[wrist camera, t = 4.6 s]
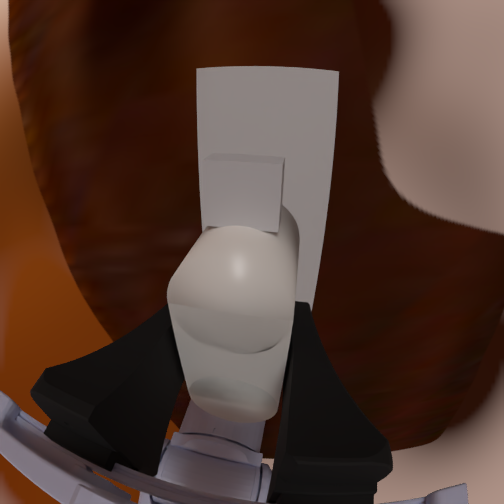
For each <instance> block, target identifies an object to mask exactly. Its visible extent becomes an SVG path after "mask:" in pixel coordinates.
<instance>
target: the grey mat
mask: <svg viewBox="0 0 504 504" xmlns="http://www.w3.org/2000/svg"><path fill="white" fill-rule="evenodd" d="M338 79H339V72H338V71H330V70H320V69H309V68H295V67H272V66H236V67H213V68H199V69H197V130H198V159H199V181H200V200H201V216H202V231H204V230H205V228H206V227H207V226H205V220H204V200H203V174H202V160H203V159H205V158H206V157H208V156H209V155H211V154H212V153H224V154H248V155H265V156H279V157H285V169H284V185H283V200H282V205H283V206H284V207H285V208H286V209H287V210H288V211H289V212H290V213H291V214H292V215H293V217H294V219H295V220H296V223H297V225H298V229H299V234H300V244H299V259H298V272H297V285H296V296H295V301H299V302H308V303H309V304H310V308H311V311H312V306H313V300H314V294H315V289H316V283H317V277H318V271H319V265H320V258H321V252H322V245H323V238H324V231H325V224H326V216H327V209H328V201H329V192H330V183H331V174H332V164H333V154H334V142H335V130H336V116H337V99H338Z"/></svg>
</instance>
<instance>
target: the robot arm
mask: <svg viewBox="0 0 504 504" xmlns="http://www.w3.org/2000/svg"><path fill="white" fill-rule="evenodd" d="M184 379H185V376H184V372H183V368H182V364H181V360H180V356H179V352H178V348H177V344H176V339H175V335H174V330H173V326H172V321H171V316H170V311H169V306H168V304H167V305H165V306H164V307H163V308H162V309H161V310H159V311H158V312H157V313H156V314H154V315H153V316H152V317H151V318H149V319H148V320H147V321H145V322H144V323H142V324H141V325H140V326H138V327H137V328H136V329H134V330H133V331H131V332H130V333H128V334H127V335H125V336H123V337H122V338H120V339H118V340H117V341H115V342H113V343H111V344H109V345H107V346H105V347H103V348H101V349H99V350H97V351H95V352H93V353H91V354H88V355H86V356H84V357H81V358H78V359H76V360H73V361H70V362H67V363H64V364H60V365H56V366H53V367H49V368H46V369H45V370H44V372H43V373H42V375H41V376H40V378H39V379H38V380H37V382H36V383H35V385H34V386H33V388H32V389H31V391H30V393H31V397H32V398H33V400H34V401H35V402H36V404H37V405H38V406H39V407H40V408H41V409H42V410H43V411H44V412H45V414H47V416H48V417H49V418H50V419H51V421H50V422H49V424H48V426H47V427H46V426H44V425H43V424H41V423H40V422H38V421H37V420H35V419H33V418H32V417H31V416H29V415H28V414H26V413H25V412H23V411H22V410H21V409H20V407H19V406H18V405H17V404H16V403H15V402H14V401H13V400H12V399H11V398H9V397H8V396H7V395H6V394H4V393H3V392H2V391H0V453H1V454H2V455H3V456H4V457H5V458H6V459H7V460H8V461H9V462H10V463H11V464H12V465H14V466H15V467H16V468H17V469H18V470H19V471H20V472H21V473H23V474H24V475H25V476H26V477H27V478H28V479H30V480H31V481H32V482H33V483H35V484H36V485H37V486H38V487H40V488H41V489H42V490H44V491H45V492H46V493H48V494H49V495H51V496H52V497H53V498H55V499H56V500H57V501H59V502H60V503H62V504H137V503H134V502H132V501H130V498H131V495H130V494H128V493H126V492H125V491H123V490H121V489H119V488H118V487H116V486H114V485H113V484H112V483H111V482H109V481H107V480H105V479H104V478H102V477H100V476H98V475H96V474H94V473H93V471H96V472H97V473H99V474H101V475H104V476H106V477H108V478H110V479H113V480H115V481H117V482H119V483H121V484H124V485H126V486H129V487H131V488H134V489H136V490H139V491H140V498H139V503H138V504H374V494H375V493H376V492H377V482H379V481H380V480H382V479H383V478H385V477H386V476H387V475H388V474H389V473H390V472H391V471H392V470H393V461H392V454H391V449H390V446H389V442H388V440H387V439H386V438H385V437H384V436H383V435H382V434H381V433H380V432H379V431H378V430H377V429H376V427H375V426H374V425H373V424H372V423H371V422H370V421H369V420H368V418H367V417H366V416H365V415H364V414H363V412H362V411H361V410H360V408H359V407H358V406H357V404H356V403H355V402H354V400H353V399H352V397H351V396H350V395H349V393H348V392H347V390H346V389H345V387H344V386H343V384H342V382H341V381H340V379H339V377H338V376H337V374H336V372H335V370H334V368H333V366H332V364H331V362H330V360H329V358H328V356H327V354H326V352H325V350H324V347H323V345H322V343H321V340H320V337H319V335H318V332H317V329H316V327H315V323H314V320H313V317H312V313H311V308H310V304H309V303H308V302H299V301H295V308H294V318H293V326H292V332H291V338H290V344H289V350H288V356H287V362H286V367H285V373H284V378H283V404H282V415H281V422H280V428H279V435H278V441H277V447H276V453H275V458H274V464H273V470H271V469H270V467H269V465H268V464H264V463H261V462H262V457H263V454H262V453H259V452H260V447H261V441H262V436H263V431H264V425H265V421H261V422H255V423H240V422H233V421H228V420H225V419H221V418H218V417H216V416H213V415H211V414H209V413H207V412H206V411H204V410H203V409H201V408H200V407H199V406H197V405H196V404H195V403H194V402H193V400H192V399H191V401H190V403H189V406H188V409H187V412H186V414H185V417H184V420H183V423H182V425H181V428H180V431H179V433H178V432H174V434H173V437H172V439H171V440H168V439H165V436H166V432H167V428H168V425H169V421H170V418H171V414H172V411H173V408H174V404H175V401H176V398H177V395H178V393H179V390H180V387H181V385H182V383H183V381H184ZM92 470H93V471H92ZM381 504H468V494H467V484H466V483H463V484H459V485H455V486H451V487H447V488H444V489H440V490H437V491H435V492H432V493H430V494H429V495H427V496H426V497H421V498H415V499H411V500H404V501H397V502H389V503H381Z"/></svg>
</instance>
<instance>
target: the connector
mask: <svg viewBox="0 0 504 504" xmlns="http://www.w3.org/2000/svg"><path fill="white" fill-rule="evenodd" d="M284 169H285V157H279V156H265V155H248V154H224V153H212V154H211V155H209V156H208V157H206V158H205V159H203V160H202V174H203V200H204V220H205V226H207V227H206V228H205V230H204V231H203V233H202V234H201V236H200V237H199V238H198V240H197V241H196V243H195V244H194V246H193V247H192V249H191V250H190V251H189V253H188V254H187V256H186V257H185V259H184V260H183V262H182V263H181V265H180V266H179V268H178V269H177V271H176V272H175V274H174V275H173V277H172V278H171V280H170V283H169V285H168V290H167V300H168V306H169V311H170V316H171V321H172V326H173V330H174V335H175V339H176V344H177V348H178V352H179V356H180V360H181V364H182V368H183V372H184V376H185V380H186V384H187V388H188V391H189V395H190V397H191V399H192V400H193V402H194V403H195V404H196V405H197V406H199V407H200V408H201V409H203V410H204V411H206V412H207V413H209V414H211V415H213V416H216V417H218V418H221V419H225V420H228V421H233V422H240V423H255V422H261V421H265V420H268V419H270V418H271V417H273V416H274V415H275V414H276V412H277V410H278V405H279V399H280V394H281V389H282V384H283V378H284V373H285V367H286V362H287V356H288V350H289V344H290V338H291V332H292V326H293V318H294V308H295V296H296V285H297V272H298V259H299V244H300V234H299V229H298V225H297V223H296V220H295V219H294V217H293V215H292V214H291V213H290V212H289V211H288V210H287V209H286V208H285V207H284V206H283V205H282V200H283V185H284Z"/></svg>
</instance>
